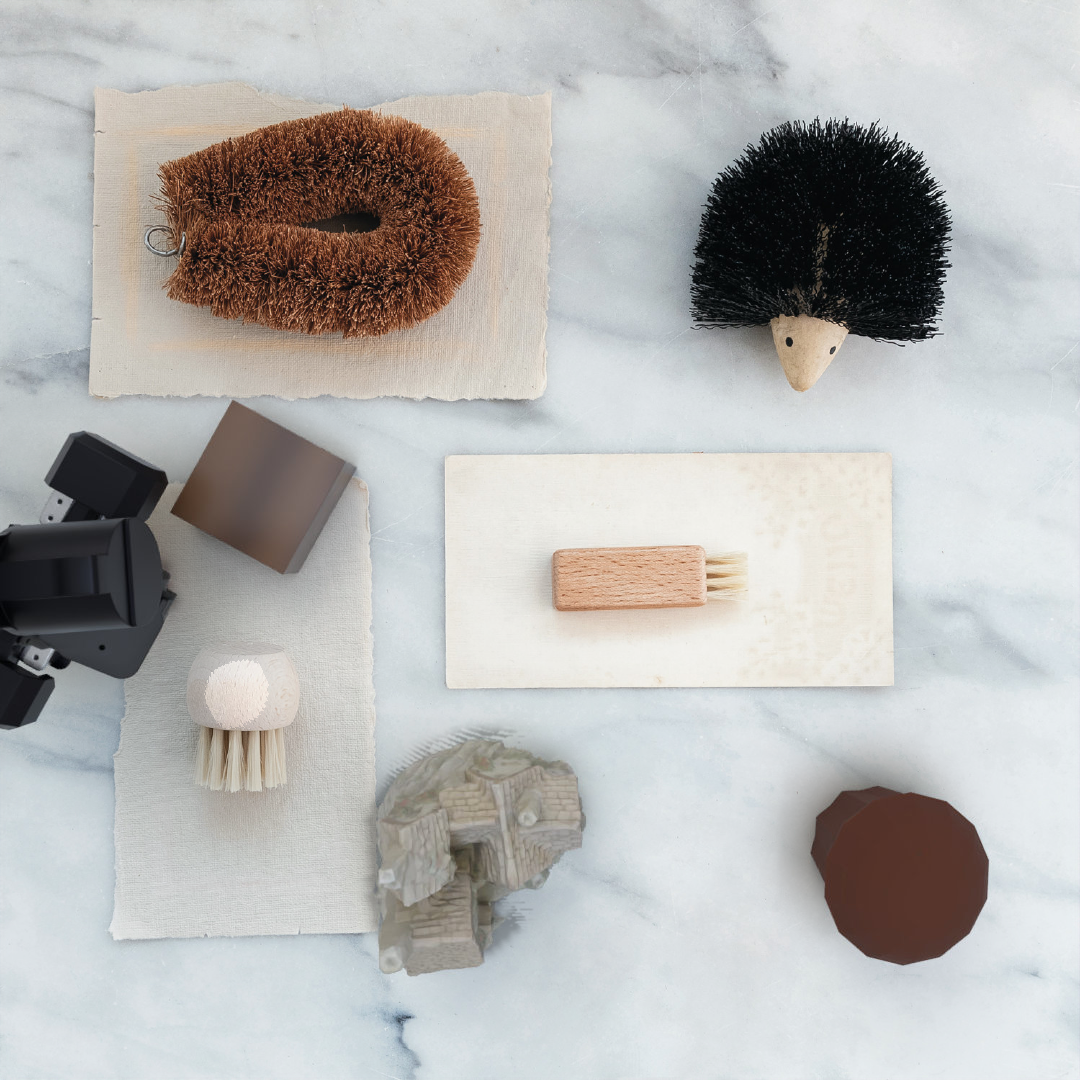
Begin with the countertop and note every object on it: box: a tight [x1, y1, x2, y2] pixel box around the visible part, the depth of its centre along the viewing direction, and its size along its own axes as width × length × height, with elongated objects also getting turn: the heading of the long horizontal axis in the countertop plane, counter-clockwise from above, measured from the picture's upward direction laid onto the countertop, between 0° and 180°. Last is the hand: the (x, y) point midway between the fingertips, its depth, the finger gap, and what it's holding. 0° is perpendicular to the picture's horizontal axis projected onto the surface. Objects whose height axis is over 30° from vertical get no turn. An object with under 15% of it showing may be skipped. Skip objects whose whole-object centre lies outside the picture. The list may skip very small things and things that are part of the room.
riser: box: [169, 399, 358, 575], centre depth 61 cm, size 9×9×5 cm
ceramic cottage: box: [374, 738, 587, 977], centre depth 57 cm, size 16×16×15 cm
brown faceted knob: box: [810, 785, 990, 967], centre depth 59 cm, size 12×11×10 cm
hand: (116, 575), depth 62 cm, fingers closed on boat, 3 cm apart
